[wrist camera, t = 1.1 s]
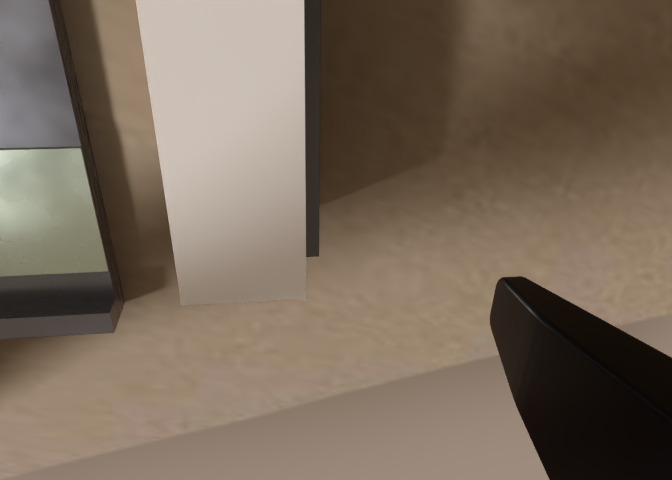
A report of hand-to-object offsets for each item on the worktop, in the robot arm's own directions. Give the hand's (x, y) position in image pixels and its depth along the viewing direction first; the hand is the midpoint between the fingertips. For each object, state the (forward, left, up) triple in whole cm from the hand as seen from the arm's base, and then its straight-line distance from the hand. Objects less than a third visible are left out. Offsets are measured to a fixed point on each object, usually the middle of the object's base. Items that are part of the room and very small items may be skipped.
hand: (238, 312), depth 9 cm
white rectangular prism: (0, 0, -13) cm, 13 cm away
